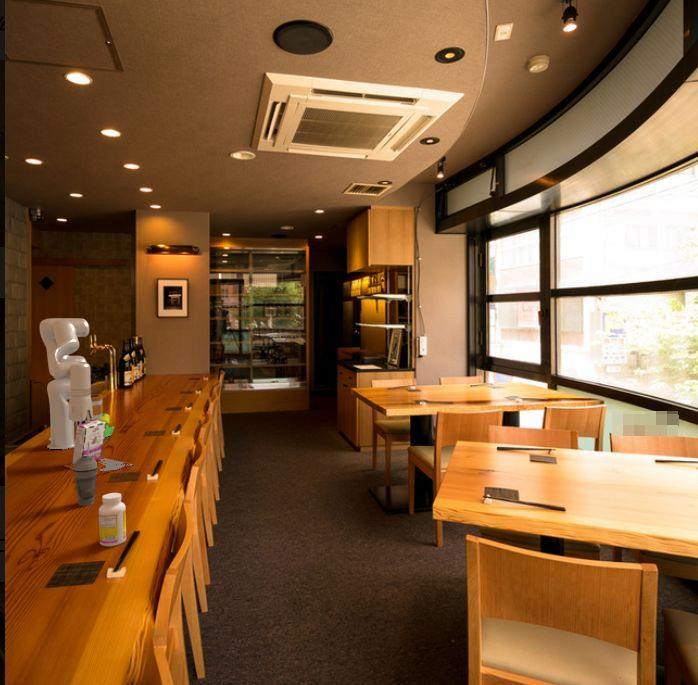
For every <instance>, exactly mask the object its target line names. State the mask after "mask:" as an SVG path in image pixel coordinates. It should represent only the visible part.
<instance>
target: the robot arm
mask: <svg viewBox="0 0 698 685" xmlns="http://www.w3.org/2000/svg"><path fill="white" fill-rule="evenodd" d="M39 333H40V337H41V339H42V342H43V344H44V346H45V348H46V353H47V354H46V356H47V363H48V364H47V365H48V370H49V374H50V375H51V377H53V378H54V380H52V381H50V382H48V384H47V388H46V389H47V395H48V402H49V413H50V414H49V415H50V416H49V417H50V418H49V419H50V437H49V438H48V441H50V443H49V444H48V445H46V446H47V449H48V448H49V449H48V450H50V449H62V450H69V449H72V448H73V449H74V446H75V427H76V429H77V425H81V424H84V423H87V424H89V423H91V421H90V420H91V419H92V417H93V410H92V401H91V395H92V389H91V388H92V387H91V386H92V385H91V383H92V382H91V380H92V379H91V366H90V364H89V363H88V362H87V360H86V358H85V357H84V356H81V355H70V354H73V353H75V352H76V351H78V349H79V348H80V341H79V339H78V338H82V337H83V338H85V337H87V336H88V335H89V333H90V324H89V323H88V321H87V320H86V319H84V318H78V317H77V318H68V317H67V318H65V317H64V318H61V317H58V318H57V317H54V318H45V319H43V320H42V321H40V323H39ZM68 448H69V449H68Z"/></svg>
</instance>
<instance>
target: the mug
mask: <svg viewBox="0 0 698 685" xmlns="http://www.w3.org/2000/svg"><path fill="white" fill-rule="evenodd" d="M91 401H92V410H93V417H92V419H91V420H90V421H95V420H98V419H99V418H101V417H102V415H103V414H104V405H103V394H91Z"/></svg>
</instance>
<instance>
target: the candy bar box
mask: <svg viewBox="0 0 698 685" xmlns="http://www.w3.org/2000/svg"><path fill="white" fill-rule="evenodd" d="M105 424H106V422H102V421H99V420H95V421H91V423H89V424H87V423H84V424H81V425H77V428H76V430H75V431H76V432H75V437H74V441H75V446H74V447H73V456H72V457H73V458H72V462H71V463H73V464H75V462H76V461H77V460H78V459H79V458H81V457H83V456H87V448H88V443H90V445H89V455H88V456H90V457H92V458H94V459H95V460H96V461H97V460H100V459H101V458H102V454H103V447H104V439H105V438H104V432H105Z"/></svg>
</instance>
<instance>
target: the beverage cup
mask: <svg viewBox="0 0 698 685" xmlns="http://www.w3.org/2000/svg"><path fill="white" fill-rule="evenodd" d="M89 445H90V443H88V448H87V456H83V457H81V458H79V459H78V460H77V461H76V462H75V464H74V469H72V471H73V475H74V480H75V488H76V495H77V502H78V506H81V507H87V506H91V505H93V504H95V497H96V485H97V475H96V474H97V468H98V466H97V462H96V460H95V459H94V458H92V457H90V456H88V455H89Z"/></svg>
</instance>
